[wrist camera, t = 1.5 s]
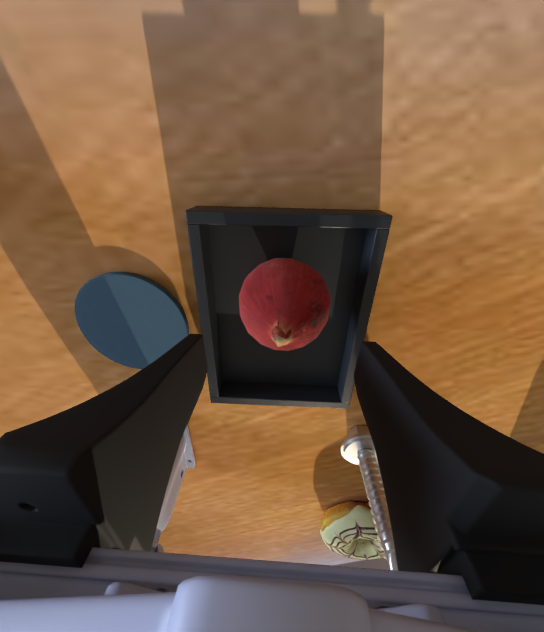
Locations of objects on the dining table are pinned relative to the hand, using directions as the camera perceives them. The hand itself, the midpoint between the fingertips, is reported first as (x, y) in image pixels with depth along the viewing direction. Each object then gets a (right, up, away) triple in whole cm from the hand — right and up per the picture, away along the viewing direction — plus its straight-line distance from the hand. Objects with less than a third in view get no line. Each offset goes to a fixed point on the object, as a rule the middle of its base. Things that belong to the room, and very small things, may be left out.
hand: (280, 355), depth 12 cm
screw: (+9, -11, +17) cm, 22 cm away
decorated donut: (+12, -27, +26) cm, 39 cm away
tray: (+1, +2, +10) cm, 10 cm away
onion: (+1, +4, +8) cm, 9 cm away
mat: (-12, +1, +11) cm, 17 cm away
